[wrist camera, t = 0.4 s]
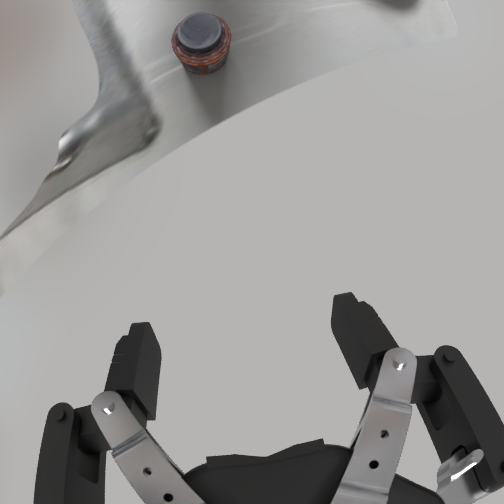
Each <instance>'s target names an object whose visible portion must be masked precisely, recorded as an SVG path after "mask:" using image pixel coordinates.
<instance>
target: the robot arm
mask: <svg viewBox="0 0 504 504" xmlns="http://www.w3.org/2000/svg"><path fill="white" fill-rule="evenodd" d="M332 308H333V309H332V317H331V328H332V332H333V335H334V337H335V339H336V341H337V343H338V344H339V347H340V349H341V351H342V353H343V355H344V358H345V360H346V362H347V364H348V366H349V368H350V370H351V373H352V375H353V377H354V379H355V381H356V383H357V385H358V388H359V389H363V388H367V387H368V389H369V391H370V394H369V396H368V400H367V402H366V405H365V408H364V411H363V414H362V417H361V419H360V422H359V425H358V427H357V430H356V432H355V435H354V437H353V439H352V441H351V444H350V446H349V448H347V447H344V446H339V445H331V444H326V445H325V444H324V441H323V439H318V440H314V441H310V442H306V443H301V444H297V445H293V446H291V447H289V448H287V449H285V450H282V451H280V452H277V453H275V454H273V455H270V456H267V457H257V456H247V455H237V454H233V455H222V456H210V457H206V460H207V463H205V464H202V465H200V466H197V467H195V468H194V469H192V470H190V471H189V472H187V473H186V474H185V473H184V472H182V470H181V469H180V468H179V467H178V466H177V465H176V464H175V463H174V462H173V461H172V460H171V458H170V457H169V456H168V455H167V454H166V453H165V451H164V450H163V449H162V448H161V446H160V445H159V444H158V443H157V441H156V440H155V439H154V438H153V436H152V435H151V434H150V433H149V431H148V430H147V429H146V424H147V420H155V419H156V406H157V395H158V385H159V375H160V367H161V349H160V346H159V343H158V341H157V339H156V336H155V334H154V332H153V329H152V327H151V325H150V323H149V322H142V323H132V324H131V327H130V330H129V334H128V335H127V336H122V338H121V339H120V340H119V341H118V343H117V344H116V347H115V351H114V356H113V358H112V363H111V366H110V369H109V373H108V377H107V382H106V385H105V389H104V392H102V393H100V394H99V395H97V396H96V397H95V398H94V400H93V402H92V404H91V405H88V406H85V407H81V408H76V409H73V408H72V407H71V406H70V405H69V404H68V403H58V404H56V405H54V406H53V407H52V408H51V409H50V410H49V412H48V416H47V420H46V424H45V428H44V433H43V438H42V443H41V448H40V454H39V460H38V467H37V474H36V482H35V492H34V504H105V466H106V451H108V450H113V452H112V456H113V458H114V460H115V462H116V463H117V465H118V466H119V468H120V470H121V471H122V473H123V474H124V476H125V477H126V478H127V480H128V481H129V483H130V484H131V486H132V487H133V488H134V490H135V491H136V493H137V494H138V495H139V497H140V498H141V499H142V500H143V502H144V503H145V504H472V503H474V502H475V501H477V500H479V499H481V498H483V497H485V496H487V495H489V494H491V493H493V492H495V491H497V490H498V489H500V488H502V487H503V486H504V424H503V422H502V421H501V419H500V417H499V415H498V413H497V411H496V410H495V408H494V406H493V404H492V402H491V401H490V399H489V397H488V395H487V394H486V392H485V390H484V389H483V387H482V385H481V384H480V382H479V380H478V379H477V377H476V375H475V374H474V372H473V371H472V369H471V368H470V366H469V364H468V363H467V361H466V360H465V358H464V357H463V355H462V354H461V353H460V351H459V350H458V349H456V348H455V347H452V346H448V345H444V346H441V347H439V348H438V349H437V350H436V351H435V353H434V355H427V356H415V355H414V354H413V353H412V352H411V351H409V350H407V349H405V348H400V347H399V346H398V345H397V343H396V341H395V340H394V338H393V337H392V335H391V334H390V332H389V331H388V329H387V328H386V326H385V325H384V324H383V323H382V321H381V319H380V317H378V314H377V313H376V312H375V310H374V309H373V307H372V306H370V305H369V304H367V303H366V302H364V301H362V302H358V301H357V299H356V298H355V296H354V295H353V294H352V292H348V293H343V294H338V295H335V296H334V299H333V307H332ZM414 403H416V405H417V408H418V410H419V412H420V414H421V416H422V418H423V421H424V423H425V425H426V427H427V430H428V432H429V434H430V437H431V439H432V441H433V444H434V446H435V449H436V451H437V454H438V456H439V458H440V461H441V464H442V465H441V466H440V467H439V469H438V472H437V483H438V488H437V491H436V492H434V491H432V490H430V489H427V488H425V487H423V486H421V485H418V484H416V483H414V482H412V481H410V480H408V479H406V478H404V477H402V476H400V475H398V474H396V473H395V472H396V469H397V466H398V463H399V460H400V457H401V453H402V450H403V446H404V442H405V439H406V435H407V431H408V427H409V423H410V419H411V414H412V406H410V404H414Z"/></svg>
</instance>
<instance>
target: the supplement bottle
mask: <svg viewBox="0 0 504 504" xmlns="http://www.w3.org/2000/svg"><path fill="white" fill-rule="evenodd" d="M230 41H231V33H230V30H229V28H228V26H227V24H226V23H225V22H224V21H223V20H222V19H221V18H219V17H217V16H214V15H211V14H208V13H196V14H192V15H190V16H188V17H186V18H185V19H184V20H183V21H182V22H181V23H179V24H178V26H177V27H176V28H175V30H174V32H173V35H172V48H173V50H174V52H175V54H176V55H177V57H178V58H179V60H180V61H181V63H182V64H183V66H184V67H185V68H186V69H187V70H189V71H190V72H192V73H195V74H210V73H213V72H215V71H217V70H218V69H220V68H221V67H222V66H223V65H224V63H225V61H226V59H227V56H228V52H229V47H230Z"/></svg>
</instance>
